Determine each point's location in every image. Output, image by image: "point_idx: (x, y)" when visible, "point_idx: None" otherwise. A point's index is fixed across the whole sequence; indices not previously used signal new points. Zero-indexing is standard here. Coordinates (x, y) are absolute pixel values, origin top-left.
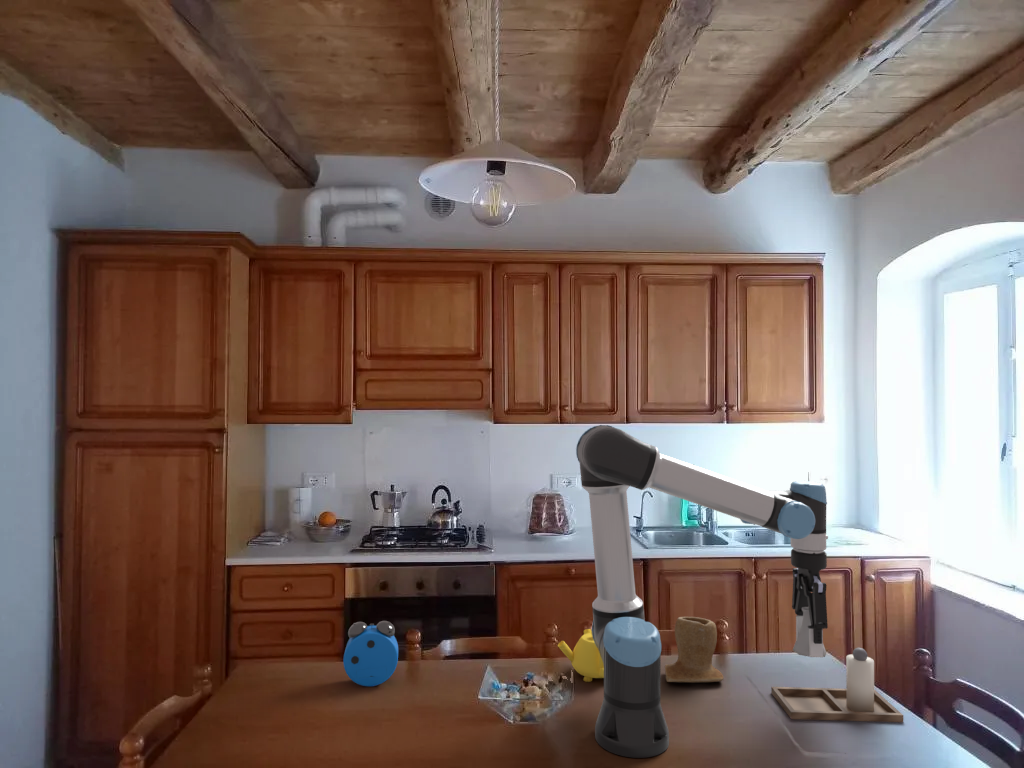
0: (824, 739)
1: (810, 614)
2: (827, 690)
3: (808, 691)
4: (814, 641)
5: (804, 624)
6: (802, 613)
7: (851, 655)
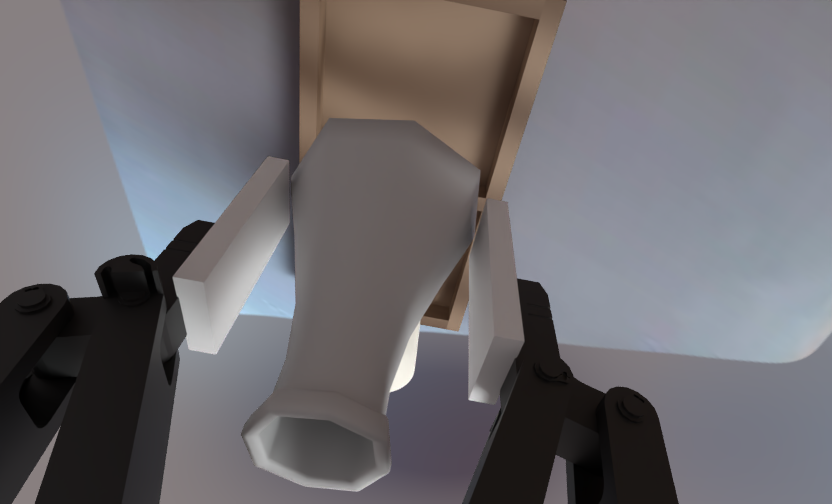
0: (190, 8)
1: (108, 383)
2: (481, 213)
3: (499, 149)
4: (207, 228)
5: (322, 292)
6: (508, 394)
7: (403, 358)
